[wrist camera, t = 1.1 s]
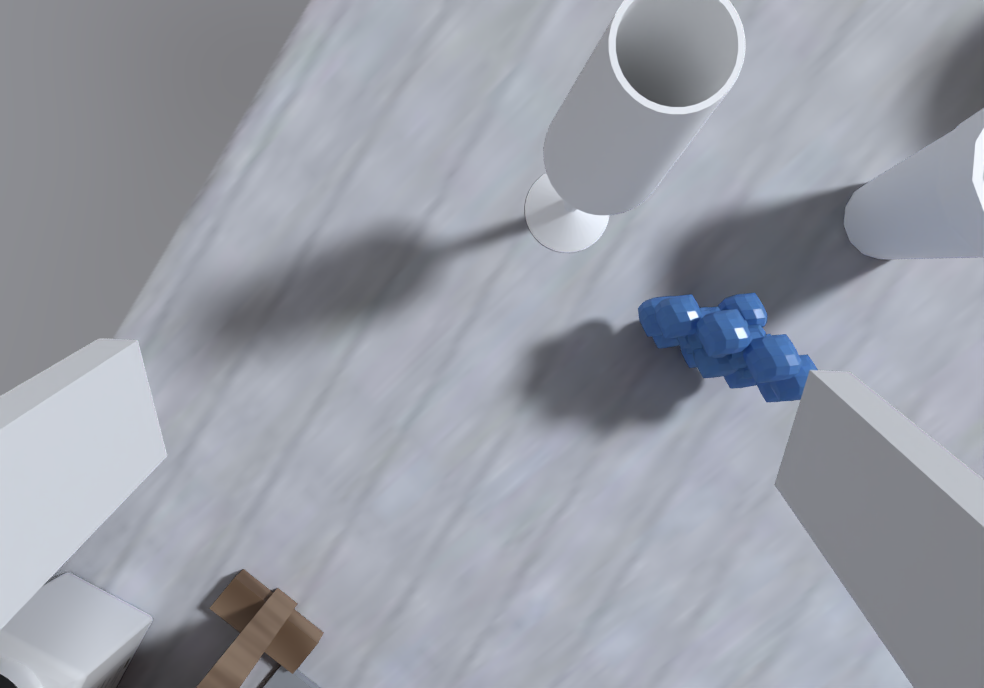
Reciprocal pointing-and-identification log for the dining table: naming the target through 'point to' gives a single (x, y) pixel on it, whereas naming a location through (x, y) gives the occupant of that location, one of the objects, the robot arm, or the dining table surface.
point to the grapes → (729, 343)
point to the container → (70, 638)
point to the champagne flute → (632, 114)
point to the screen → (259, 631)
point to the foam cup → (925, 201)
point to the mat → (289, 680)
